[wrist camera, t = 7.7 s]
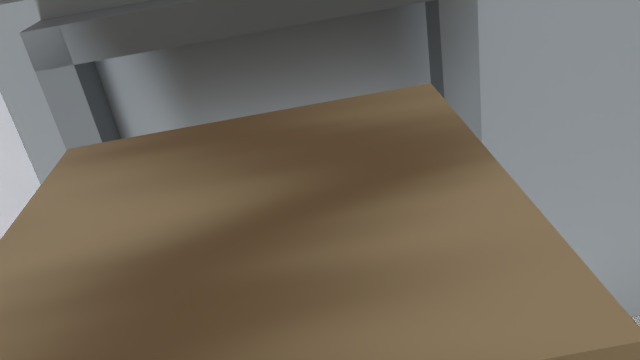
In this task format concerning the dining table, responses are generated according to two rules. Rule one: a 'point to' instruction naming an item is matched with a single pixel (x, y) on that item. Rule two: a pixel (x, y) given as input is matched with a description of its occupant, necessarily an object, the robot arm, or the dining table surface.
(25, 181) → the dining table surface
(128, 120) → the board
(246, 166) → the oak block
